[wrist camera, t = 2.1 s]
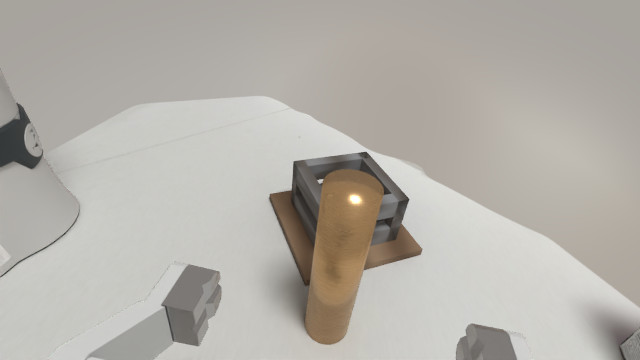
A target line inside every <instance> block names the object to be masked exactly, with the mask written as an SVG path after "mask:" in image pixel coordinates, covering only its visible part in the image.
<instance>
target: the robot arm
mask: <svg viewBox="0 0 640 360" xmlns="http://www.w3.org/2000/svg"><path fill="white" fill-rule="evenodd" d="M78 213H79V202H78V200H77V198H76V197H75V196H74V195H73V194H72V193H71V192H70V191H69V190H68V189H67V188H66V187H65V186H64V185H63V183H62V182H61V181H60V180H59V178H58V177H57V176H56V174H55V173H54V172H53V170H52V169H51V167H50V166H49V164H48V163H47V161H46V159H45V158H44V156H43V150H42V146H41V142H40V140H39V137H38V135H37V132H36V130H35V128H34V126H33V125H32V124H31V122H30V120H29V118H28V116H27V114H26V112H25V110H24V108H23V107H22V106H21V105H20V104H18V103H16V102H15V99H14V97H13V96H12V93H11V91H10V89H9V86H8V84H7V82H6V80H5V78H4V76H3V73H2V71H1V69H0V276H1V275H3V274H4V273H5V272H6V271H8V270H9V269H10V268H11V267H12V266H14V265H15V264H16V263H17V262H19V261H20V260H22V259H24V258H25V257H27V256H29V255H31V254H33V253H35V252H37V251H39V250H41V249H42V248H44V247H46V246H48V245H49V244H51V243H52V242H54V241H55V240H56V239H58V238H59V237H60V236H61V235H63V234H64V233H65V232H66V231H67V230H68V229H69V228H70V227H71V225H72V224H73V223H74V221H75V220H76V218H77V216H78ZM219 280H220V272H219V271H215V270H211V269H206V268H202V267H198V266H193V265H189V264H185V263H180V262H174V263H172V264H171V265H170V266H169V268H168V269H167V270H166V272H165V273H164V274H163V276H162V277H161V279H160V280H159V281H158V283H157V284H156V286H155V287H154V288H153V290H152V291H151V292H150V294H149V295H148V297H147V298H146V299H145V301H144V302H143V301H138V302H137V303H135V304H133V305H131V306H130V307H128V308H126V309H124V310H122V311H121V312H119V313H117V314H115V315H114V316H112V317H110V318H108V319H106V320H105V321H103V322H101V323H99V324H98V325H96V326H94V327H92V328H91V329H89V330H87V331H85V332H83V333H82V334H80V335H78V336H76V337H75V338H73V339H71V340H69V341H67V342H66V343H64V344H62V345H60V346H59V347H57V348H56V350H55V351H54V352H53V353H52V354H51V355H50V357H49V358H48V359H47V360H153V359H154V358H156V357H157V356H158V355H159V354H161V353H162V352H163V351H164V350H166V349H167V348H168V347H169V346H171V345H172V344H173V342H179V343H184V344H189V345H194V346H200V344H201V342H202V340H203V338H204V336H205V334H206V332H207V330H208V319H210V318H211V317H213V316H214V315H215V313H216V311H217V309H218V306H219V303H220V300H221V293H222V291H221V286H220V285H219V284H218V282H219ZM466 335H467V336H464V337H462V338H460V340H459V342H458V344H457V349H456V360H534V359H533V356H532V354H531V351H530V348H529V346H528V343H527V340H526V338H525V337H524V336H523V334H520V333H515V332H510V331H504V330H502V329H497V328H492V327H487V326H482V325H476V324H470V325H468V327H467V328H466Z"/></svg>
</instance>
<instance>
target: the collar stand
mask: <svg viewBox="0 0 640 360" xmlns="http://www.w3.org/2000/svg"><path fill="white" fill-rule="evenodd" d="M342 169H352V170H358V171H362V172H365V173H367V174H370V175H371V176H373V177H375V178H376V179H377V180H378V181H379V182H380V183H381V184H382V186H383V189H384V195H383V199H382V203H381V206H380V210H379V214H378V217H377V221H376V225H375V229H374V232H373V236H372V240H371V244H370V247H369V251H368V255H367V259H366V262H365V266H364V270H366V269H369V268H373V267H377V266H380V265H384V264H388V263H391V262H395V261H399V260H402V259H406V258H410V257H414V256H417V255H420V254H421V252H422V248H421V247H420V246H419V245H418V243H417V242H416V241H415V240H414V238H413V237H412V236H411V235H410V233H409V232H408V231H407V230H406V229H405V227H404V226H403V225H402V224H401V223H402V220H403V217H404V214H405V210H406V207H407V204H408V201H409V198H408V197H407V196H406V195H405V194H404V193H403V192H402V191H401V189H400V188H399V187H398V186H397V185H396V184H395V183H394V182H393V181H392V180H391V178H390V177H389V176H388V175H387V174H386V173H385V172H384V171H383V170H382V168H381V167H380V166H379V165H378V164H377V163H376V162H375V161H374V160H373V159H372V157H371V156H370V155H369V154H368V153H367V152H361V153H354V154H346V155H338V156H331V157H323V158H316V159H308V160H300V161H294V164H293V180H292V191H285V192H279V193H273V194H270V201H271V203H272V206H273V208H274V211H275V213H276V215H277V218H278V220H279V223H280V225H281V227H282V230H283V232H284V235H285V237H286V239H287V242H288V244H289V247H290V249H291V251H292V254H293V256H294V259H295V261H296V263H297V266H298V268H299V271H300V273H301V275H302V278H303V280H304V283H305V285H306V286H307V285H310V278H311V270H312V262H313V255H314V247H315V239H316V231H317V223H318V215H319V208H320V200H321V192H322V184H323V183H321V184H319V183H318V181H317V180H319V179H324V178H325V177H326V176H327V175H328V174H329V173H331V172H333V171H336V170H342Z"/></svg>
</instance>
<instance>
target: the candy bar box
mask: <svg viewBox="0 0 640 360" xmlns="http://www.w3.org/2000/svg"><path fill="white" fill-rule="evenodd" d="M620 350H621V352H622V355H623V358H624V360H640V328H639V329H638V330H636V331H635V332H634V333H633V334H632V335H631V336H630V337H629V338H627V339H626V340H625V341H624V342H623V343H622V344H621V345H620Z"/></svg>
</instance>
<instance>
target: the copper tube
mask: <svg viewBox="0 0 640 360" xmlns="http://www.w3.org/2000/svg"><path fill="white" fill-rule="evenodd" d="M383 195H384V189H383V186H382V184H381V183H380V182H379V181H378V180H377V179H376V178H375V177H373V176H371V175H370V174H367V173H365V172H362V171H358V170H352V169H342V170H336V171H333V172H331V173H329V174H328V175H327V176H326V177H325V178H324V180H323V184H322V192H321V200H320V208H319V215H318V223H317V231H316V239H315V247H314V255H313V262H312V270H311V278H310V286H309V294H308V302H307V309H306V317H305V328H306V330H307V333H308V334H309V336H310V337H311V338H312V339H313V340H315V341H317V342H319V343H321V344H334V343H337V342H339V341H340V340H342V339H343V338H344V336H345V335H346V333H347V329H348V326H349V322H350V318H351V314H352V311H353V307H354V303H355V300H356V296H357V292H358V288H359V285H360V281H361V277H362V273H363V270H364V266H365V262H366V259H367V255H368V251H369V247H370V244H371V240H372V236H373V232H374V229H375V225H376V221H377V217H378V214H379V210H380V206H381V203H382V199H383Z"/></svg>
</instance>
